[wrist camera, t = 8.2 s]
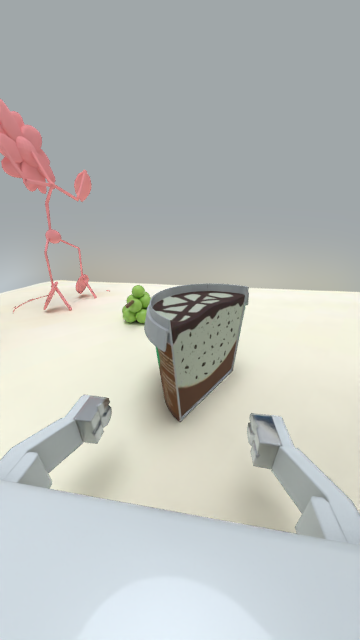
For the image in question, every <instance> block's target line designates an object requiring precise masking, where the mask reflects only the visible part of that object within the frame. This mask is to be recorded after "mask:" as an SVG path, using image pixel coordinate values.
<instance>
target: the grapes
mask: <svg viewBox="0 0 360 640" xmlns="http://www.w3.org/2000/svg"><path fill="white" fill-rule="evenodd" d="M132 294H133V295H130V296H129V297H128V298H127V305H125V306H124V307H123V309H122V312H123V318H124V320H125V321H127V322H134V321H135V320H137V321H138V322H139V323H145V319H146V312H147V307H148V306H149V304H150V299H151V298H150V296H149V294H148V293H147V292H145V290H144V288H143V287H142V286H140V285H136V286H134V287H133V289H132Z"/></svg>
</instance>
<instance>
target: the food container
mask: <svg viewBox="0 0 360 640" xmlns="http://www.w3.org/2000/svg"><path fill="white" fill-rule="evenodd" d="M248 289H249V287H245V286H239V285H229V284H191V285H183V286H177V287H172V288H169V289H165V290H163V291H160V292H158V293H157V294H155V295H154V296H153V297H152V298H151V299H150V304H149V306H148V307H147V312H146V319H145V327H144V330H145V334H146V336H147V337H148V339H149V340H150V341H151V342H152V343H153V344H154V345H155V346H156V352H157V357H158V363H159V369H160V375H161V381H162V387H163V392H164V398H165V402H166V405H167V407H168V409H169V410H170V412H171V413H172V415H173V416H174V417H175V418H176V419H177V420H178V421H179V422H181V421H182V420H183V419H184V418H185V417H186V416H187V415H188V414H189V413H190V412H191V411H192V410H193V409H194V408H195V407H196V406H197V405H198V404H199V403H200V402H201V401H202V400H203V399H204V398H205V397H206V396H207V395H208V394H209V393H210V392H211V391H212V390H213V389H214V388H215V387H216V386H217V385H218V384H219V383H220V382H221V381H222V380H223V379H224V378H225V377H226V376H227V375H228V374H229V373H231V372H232V371H233V367H234V361H235V356H236V351H237V346H238V341H239V336H240V331H241V326H242V320H243V315H244V310H245V305H248V298H249V293H248Z"/></svg>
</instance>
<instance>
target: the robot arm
mask: <svg viewBox="0 0 360 640" xmlns="http://www.w3.org/2000/svg"><path fill="white" fill-rule="evenodd" d="M109 403H110V401H109V398H106V397H99V396H91V395H83V396H81V397H80V399H79V400H78V401H77V402H76V404H75V405H74V406H73V407H72V409H71V410H70V411H69V412H68V414H67V415H66V416H65V417H64V418H61V419H59V420H57V421H56V422H54V423H52V424H51V425H49V426H47V427H46V428H44V429H42V430H41V431H39V432H37V433H36V434H34V435H32V436H31V437H29V438H27V439H26V440H24V441H22V442H21V443H19V444H17V445H15V446H14V447H12V448H11V449H10V450H9V451H8V452H7V453H6V454H5V455H4V457H3V458H2V459H1V460H0V640H360V514H359V512H358V511H357V509H356V507H355V505H354V503H353V502H352V501H351V500H350V499H349V498H348V497H347V496H346V495H345V494H344V493H343V492H342V491H341V490H340V489H339V488H338V487H337V486H336V485H335V484H334V483H333V482H332V481H331V480H330V479H329V478H328V477H327V476H326V475H325V474H324V473H323V472H322V471H321V470H320V469H319V468H318V467H317V466H316V465H315V464H314V463H313V462H312V461H311V460H310V459H309V458H308V457H306V456H305V455H304V454H303V453H302V452H301V451H300V450H299V449H298V448H295V447H294V444H293V442H292V440H291V437H290V435H289V433H288V430H287V428H286V426H285V423H284V421H283V418H282V417H281V416H274V415H266V414H255V413H251V414H250V417H249V419H250V423H248V427H247V436H248V442H249V444H250V445H251V446H252V448H251V457H252V461H253V466H256V467H261V468H267V469H272V472H273V473H274V475H275V476H276V478H277V479H278V480H279V482H280V483H281V485H282V486H283V487H284V489H285V490H286V492H287V493H288V495H289V496H290V497H291V499H292V500H293V502H294V503H295V504H296V506H297V507H298V509H299V510H300V512H301V513H302V515H301V517H300V519H299V521H298V522H297V524H296V526H295V529H296V532H297V534H295V533H290V532H284V531H279V530H273V529H268V528H262V527H257V526H251V525H246V524H240V523H235V522H229V521H224V520H218V519H213V518H207V517H202V516H196V515H191V514H186V513H180V512H175V511H169V510H164V509H158V508H153V507H147V506H142V505H136V504H131V503H125V502H120V501H114V500H109V499H103V498H98V497H92V496H87V495H81V494H76V493H70V492H65V491H59V490H54V489H49V488H50V487H51V485H52V480H51V478H50V476H49V474H48V473H49V472H50V471H52V470H53V469H54V468H55V467H56V466H57V465H59V464H60V463H61V462H62V461H63V460H64V459H65V458H67V457H68V456H69V455H70V454H71V453H72V452H73V451H75V450H76V449H77V448H78V447H79V446H80V445H81V444H83V442H86V443H95V444H98V442H99V440H100V438H101V436H102V434H103V432H104V431H103V428H104V427H105V426H107V425H108V423H109V421H110V418H111V415H112V410H111V407H110V406H109V405H108V404H109Z"/></svg>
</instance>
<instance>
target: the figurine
mask: <svg viewBox="0 0 360 640" xmlns="http://www.w3.org/2000/svg"><path fill="white" fill-rule="evenodd" d="M41 145H42V137H41V135H40V133H39V132H38V131H37V129H35V128H34V127H32V126H30V125H24V122H23V119H22V117H21V116H20V114H19V113H18V112H15V111H12V112H10V111H9V109H8V108H7V106H6V105H5V103H4V102H3V101H2V100H1V99H0V153H1V154H2V155H4V156H5V157H4V159H3V160H2V161H1V162H2V168H3V169H4V171H5V172H6V173H7V174H8V175H10V176H13V177H17V178H22V179H23V183H24V184H25V186H26V187H27V189H28V190H29V191H35V190H36V189H37V188H38V189H39V191H41V192H42V193H44V194H46V186H49V187H50V189H49V192H48V195H47V198H46V201H45V202H46V203H45V205H46V212H47V218H48V225H49V230H48V231H47V232H46V238H47V242H46V247H45V258H46V261H47V266H48V270H49V275H50V279H51V283H52V286H51V287H52V289H51V291H50V293H49V295H47V296H48V297H47V300H46V303H45V306H44V310H46V308H47V306H48V304H49V302H50V300H51V299H52V296H53V295H54V292H55V290H56V291H57V293H58V294H59V296H60V297H61V298H62V300H63V301H64V303H65V304H66V306H67V307H68V308H69V310H71V309H72V308H71V307H70V305H69V304H68V302H67V301H66V299H65V298H64V297H63V295H62V294H61V292H60V291H59V289H58V288H57V284H58V282H55V284H53V279H52V275H51V270H50V265H49V261H48V256H47V248H48V243H49V241H50V242H51V243H59V242H60V241H62V242H64V243H66V244H69V243H68V242H65V241H63V240H61V235H60V234H59V232H57V231H55V230H52V229H51V223H50V214H49V205H48V203H49V200H50V196H51V193H52V189H55V188H56V189H58V190H60V191H61V192H63V193H65V194H66V195H68V196H69V197H71V198H73V199H74V200H76V201H78V200H79V199H80V200H81V202H82V201H83V200H85V199H86V197H87V196H88V195H89V193H90V191H91V180H90V177H89V175H88V174H87V171H86V170H83V172H81V173H79V174H78V176H77V178H76V180H75V184H74V187H75V192H76V194H77V198H76V197H75V196H73V195H71V194H70V193H68V192H66V191H65V190H63V189H62V188H60V187H58V186H57V185H55V184H54V182H55V176H54V174H53V172H52V170H51V168H50V166H49V164H50V161H49V159H48V157H47V156H46V154H45V153H44V152H43V151H42V150H41V149H40V148H41ZM45 178H46V179H47V181H48V182H49V183H46V182H45ZM69 245H71V246H73V247H75V248H78V251H79V259H80V267H81V277H80V278H79V279H78V281H77V283H76V291H77V292H78V293H80V292H81V293H82V292H83V291H84V289H85V288H86V286H87V287H88V288H89V290H90V291H91V293H92V294H93V296H94V298H96V295H95V294H94V292H93V290H92V289H91V287H90V286H89V284H88V276H87V275H85V274H84V275H83V272H82V263H81V254H80V249H79V247H76V246H74V245H72V244H69ZM106 291H108V290H106ZM81 293H80V294H81ZM43 297H45V296H43ZM39 298H41V297H39ZM36 299H38V298H36ZM32 300H35V299H31V300H30V301H32ZM28 302H29V300H28ZM25 303H27V302H25ZM25 303H23V304H25ZM21 305H22V304H21ZM21 305H19V306H21ZM19 306H18V307H19ZM15 307H16V306H15ZM15 307H14V308H15ZM18 307H17V308H18ZM15 309H16V308H15ZM15 309H14V310H15ZM13 312H14V311H13Z"/></svg>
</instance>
